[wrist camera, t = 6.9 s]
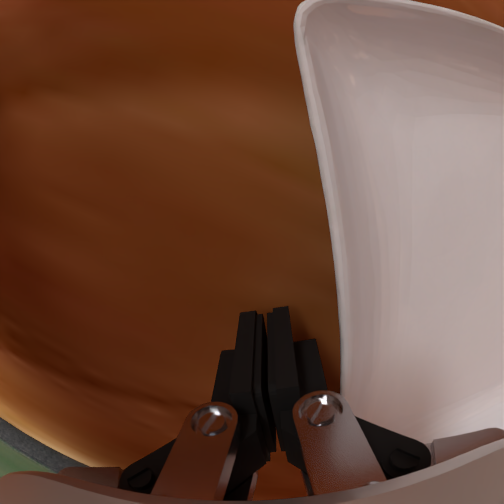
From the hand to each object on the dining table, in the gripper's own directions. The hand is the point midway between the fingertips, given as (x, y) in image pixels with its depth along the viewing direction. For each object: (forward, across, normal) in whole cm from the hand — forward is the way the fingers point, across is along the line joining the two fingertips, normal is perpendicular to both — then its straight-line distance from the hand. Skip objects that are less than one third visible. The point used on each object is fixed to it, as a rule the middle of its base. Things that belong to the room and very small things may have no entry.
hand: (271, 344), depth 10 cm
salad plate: (+2, -13, 0) cm, 13 cm away
